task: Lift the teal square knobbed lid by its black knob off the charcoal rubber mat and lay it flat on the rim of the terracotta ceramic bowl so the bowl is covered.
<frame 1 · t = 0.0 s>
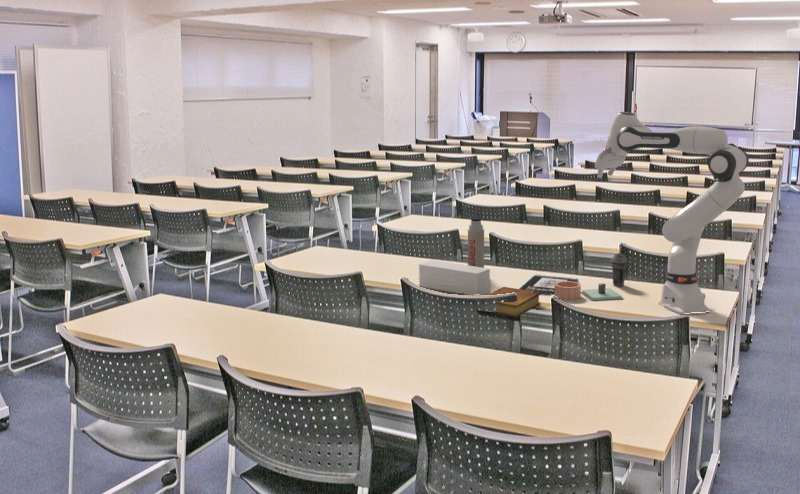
hand: (604, 176, 363), 52 cm above the table, tool tilted 20°, fingers open, 8 cm apart
sketchbook: (548, 287, 381), on the table
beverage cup: (618, 286, 379), on the table
diary: (509, 308, 350), on the table
mat: (601, 296, 362), on the table
teal square knobbed lid: (601, 295, 362), point 1 cm above the table, touching mat
thermos bottle: (475, 274, 406), on the table
white oblong block: (453, 289, 381), on the table
bowl: (567, 297, 362), on the table
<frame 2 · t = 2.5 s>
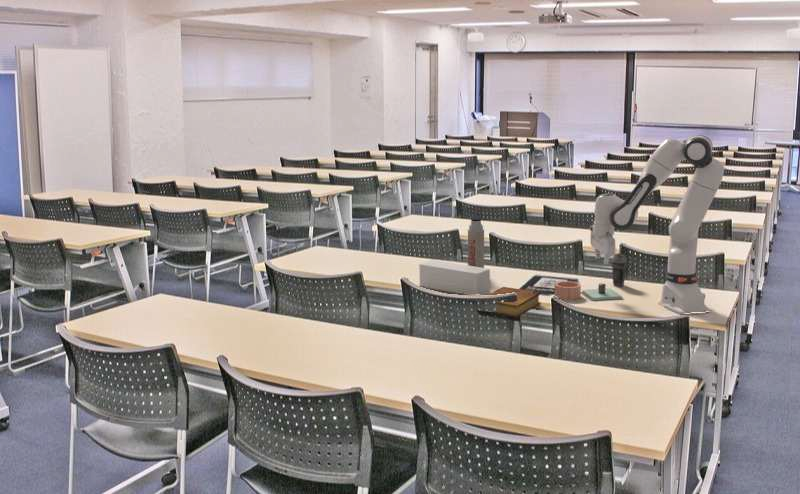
hand: (601, 261, 359), 16 cm above the table, tool pointing down, fingers open, 8 cm apart
nothing on the table moved.
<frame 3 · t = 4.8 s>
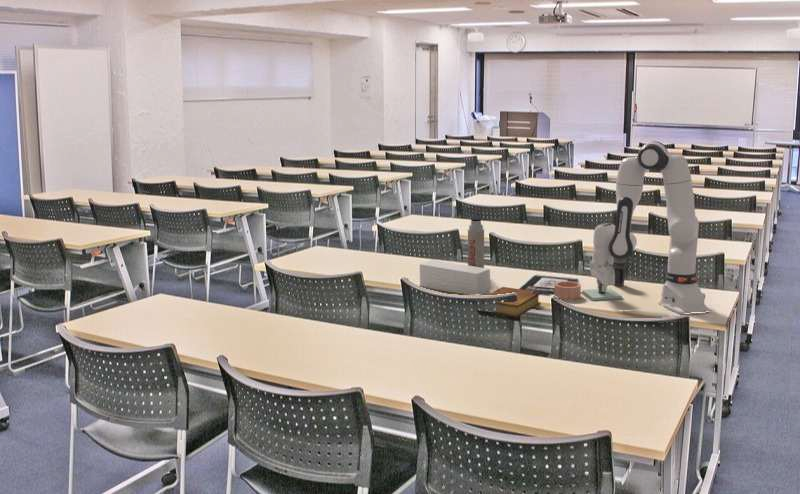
hand: (601, 290, 362), 3 cm above the table, tool pointing down, fingers closed on teal square knobbed lid, 3 cm apart
teal square knobbed lid: (601, 295, 362), point 1 cm above the table, touching gripper, mat
everything else where it was.
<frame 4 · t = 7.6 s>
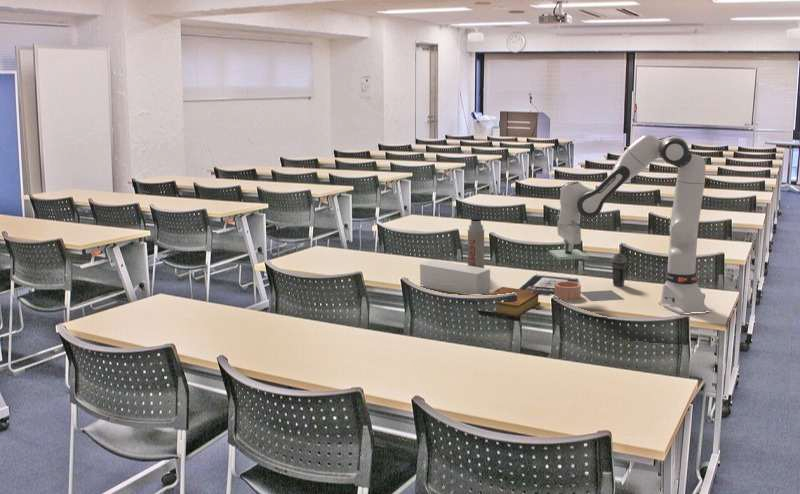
hand: (568, 250, 358), 21 cm above the table, tool pointing down, fingers closed on teal square knobbed lid, 3 cm apart
teal square knobbed lid: (568, 255, 358), point 19 cm above the table, touching gripper
everything else where it was.
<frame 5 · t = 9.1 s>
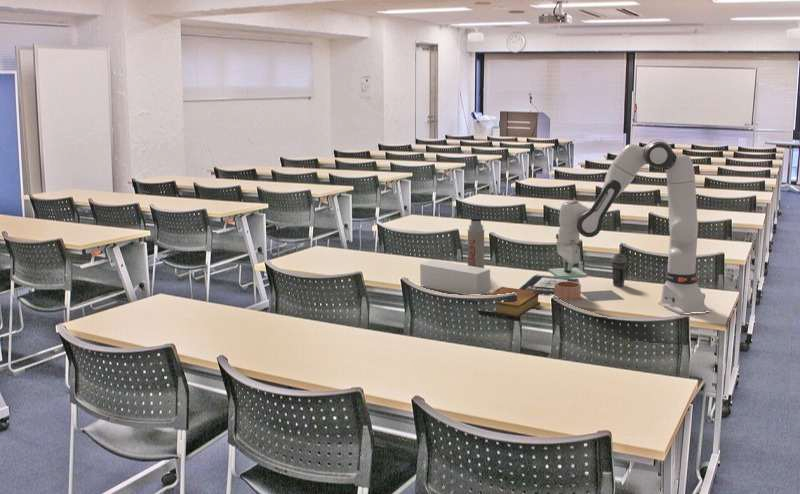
hand: (567, 268, 360), 13 cm above the table, tool pointing down, fingers closed on teal square knobbed lid, 3 cm apart
teal square knobbed lid: (567, 274, 360), point 11 cm above the table, touching gripper
everything else where it was.
when the fingers open (9 cm above the table, at t = 10.5 s): teal square knobbed lid stays where it is, resting on bowl.
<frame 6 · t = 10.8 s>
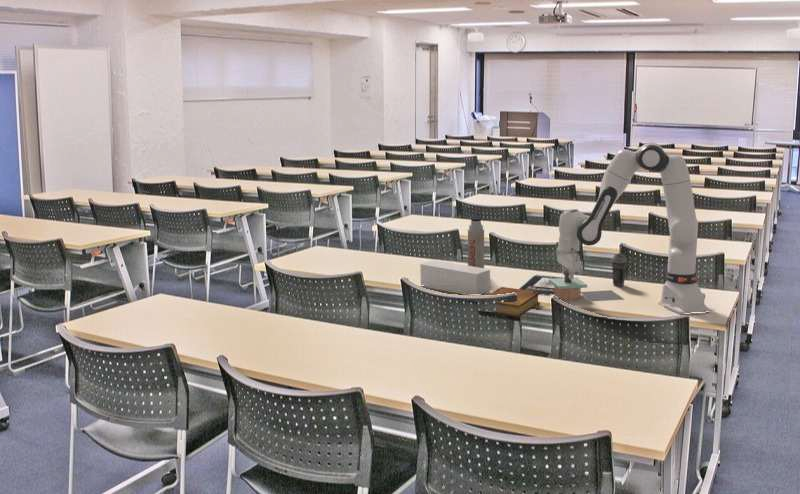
hand: (568, 277, 360), 9 cm above the table, tool pointing down, fingers open, 6 cm apart
teal square knobbed lid: (567, 284, 361), point 6 cm above the table, touching bowl
everything else where it was.
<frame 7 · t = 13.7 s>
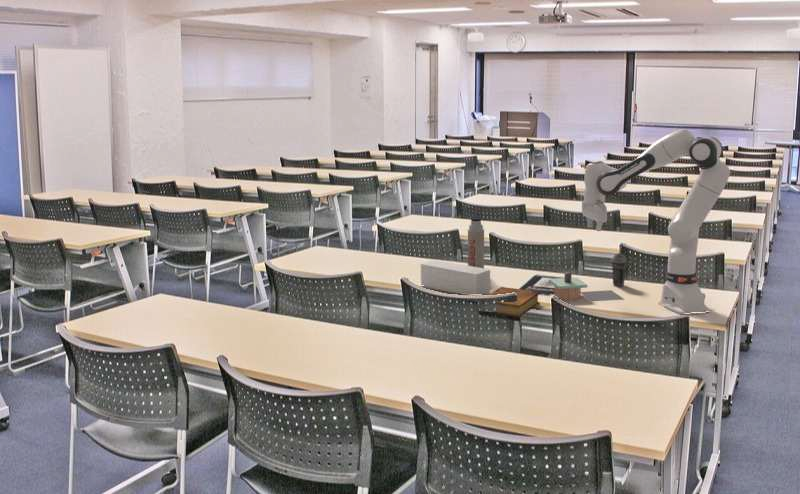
hand: (594, 229, 363), 29 cm above the table, tool pointing down, fingers open, 8 cm apart
nothing on the table moved.
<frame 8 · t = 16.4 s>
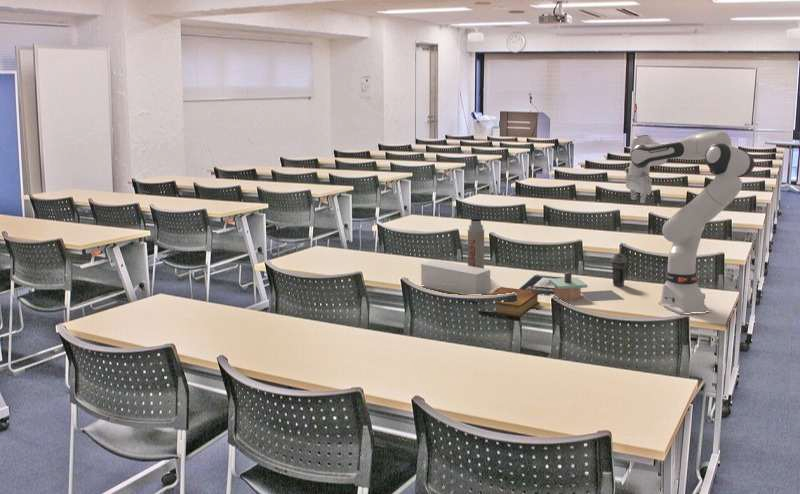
hand: (637, 201, 374), 39 cm above the table, tool pointing down, fingers open, 8 cm apart
nothing on the table moved.
at the end: teal square knobbed lid 0.0 cm off-centre on the bowl, point 6.0 cm above the bowl's base; teal square knobbed lid tilted 0°; the gripper is holding nothing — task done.
